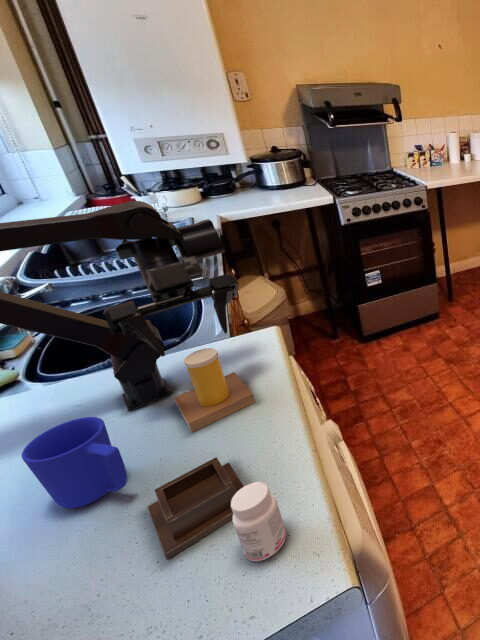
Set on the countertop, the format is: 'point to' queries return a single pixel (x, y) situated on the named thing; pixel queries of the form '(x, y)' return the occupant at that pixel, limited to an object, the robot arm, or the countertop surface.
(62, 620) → the countertop surface
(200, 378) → the yellow canister
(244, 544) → the pill bottle
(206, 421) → the wooden pad
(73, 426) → the mug
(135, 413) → the countertop surface
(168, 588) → the countertop surface
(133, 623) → the countertop surface
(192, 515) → the stand
